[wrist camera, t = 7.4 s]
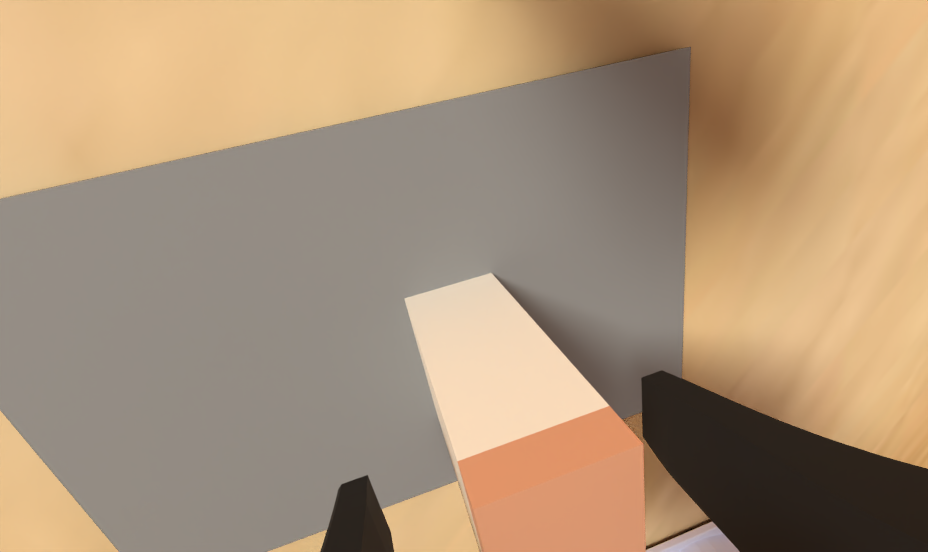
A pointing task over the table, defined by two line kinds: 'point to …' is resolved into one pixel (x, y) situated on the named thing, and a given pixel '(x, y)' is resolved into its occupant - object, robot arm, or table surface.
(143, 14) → the table surface
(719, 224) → the table surface
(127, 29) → the table surface
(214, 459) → the slate mat
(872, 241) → the table surface
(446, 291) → the cream block
